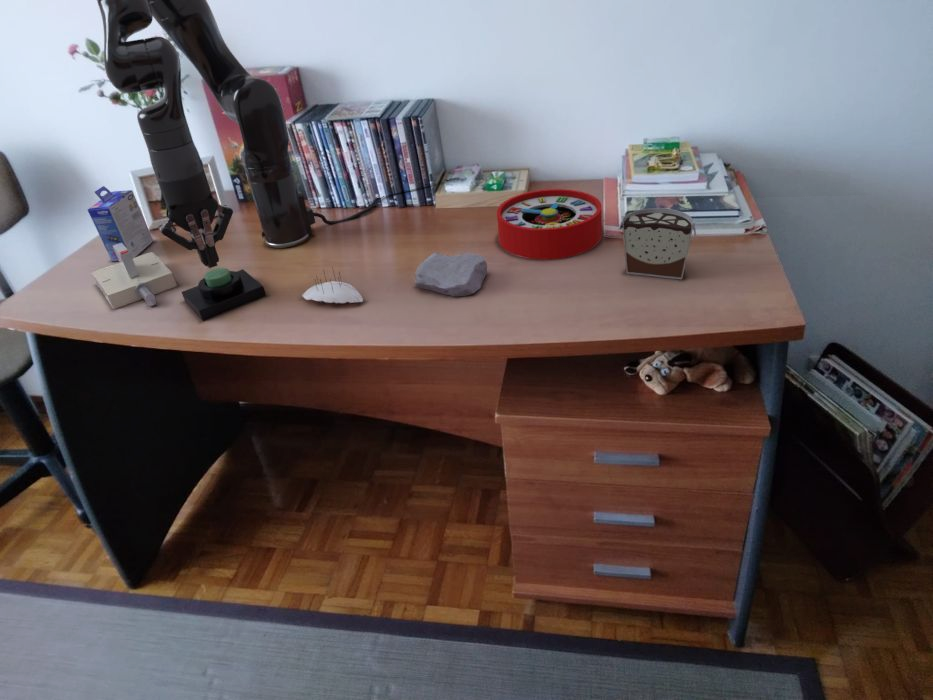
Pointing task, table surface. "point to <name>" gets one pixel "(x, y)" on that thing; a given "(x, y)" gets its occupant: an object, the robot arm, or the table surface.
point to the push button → (217, 277)
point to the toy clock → (549, 223)
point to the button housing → (223, 295)
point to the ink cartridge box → (120, 222)
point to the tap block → (133, 280)
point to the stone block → (452, 274)
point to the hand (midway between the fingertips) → (211, 265)
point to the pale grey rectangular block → (126, 260)
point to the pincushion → (333, 292)
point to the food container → (657, 242)
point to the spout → (145, 293)
